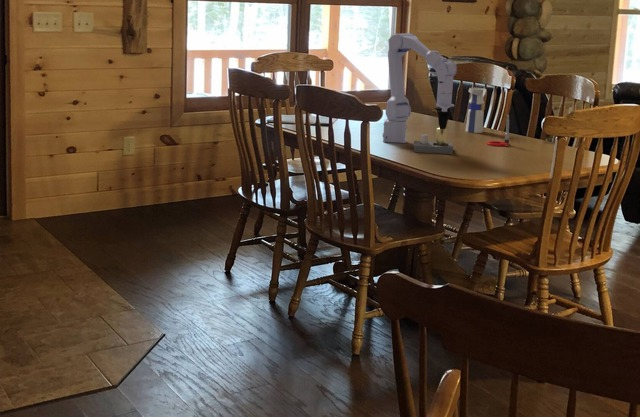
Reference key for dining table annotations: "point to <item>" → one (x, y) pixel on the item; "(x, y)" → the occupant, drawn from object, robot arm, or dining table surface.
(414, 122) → the dining table surface
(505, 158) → the dining table surface
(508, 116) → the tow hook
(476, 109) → the water bottle
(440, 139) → the cylinder
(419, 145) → the grey holder block
